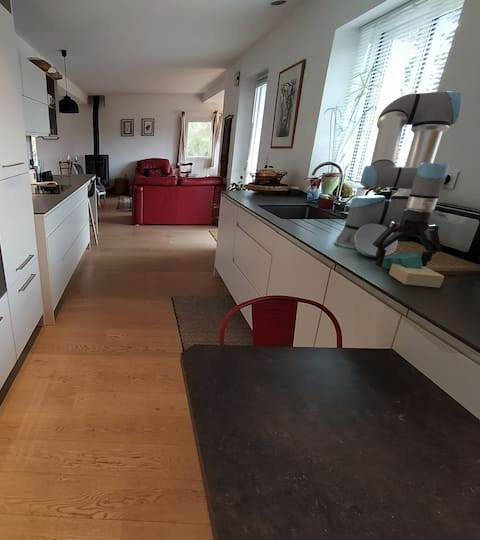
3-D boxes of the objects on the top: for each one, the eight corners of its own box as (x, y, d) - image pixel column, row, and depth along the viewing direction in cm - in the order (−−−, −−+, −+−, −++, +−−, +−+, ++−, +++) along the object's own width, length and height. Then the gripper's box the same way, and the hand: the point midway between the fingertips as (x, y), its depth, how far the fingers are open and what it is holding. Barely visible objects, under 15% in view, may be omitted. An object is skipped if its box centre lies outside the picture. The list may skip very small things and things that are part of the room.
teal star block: (384, 267, 123) (381, 257, 123) (408, 262, 121) (406, 252, 121) (402, 271, 112) (399, 259, 112) (429, 265, 110) (426, 254, 110)
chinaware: (360, 268, 137) (369, 261, 130) (339, 239, 143) (347, 231, 136) (395, 256, 136) (406, 248, 129) (372, 228, 142) (382, 218, 135)
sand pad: (388, 274, 117) (392, 263, 115) (420, 277, 114) (424, 266, 113) (404, 284, 107) (408, 273, 106) (440, 287, 105) (444, 276, 104)
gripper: (383, 209, 111) (365, 267, 118) (470, 214, 106) (446, 274, 113) (372, 206, 118) (356, 261, 125) (454, 210, 113) (432, 267, 120)
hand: (399, 267), depth 119 cm, fingers open, 13 cm apart
